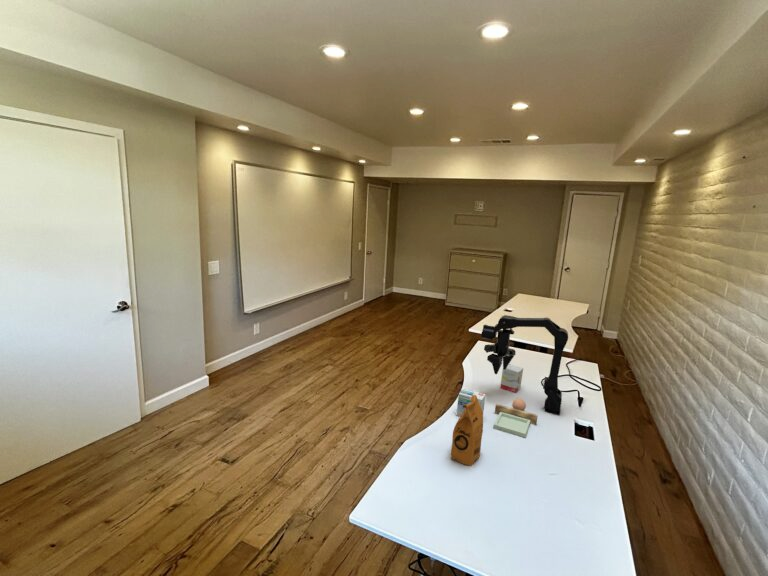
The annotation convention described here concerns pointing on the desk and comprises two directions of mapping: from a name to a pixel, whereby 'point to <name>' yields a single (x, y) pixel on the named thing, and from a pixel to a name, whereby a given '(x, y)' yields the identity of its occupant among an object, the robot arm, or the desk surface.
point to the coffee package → (468, 434)
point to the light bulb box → (468, 400)
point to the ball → (519, 404)
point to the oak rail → (516, 413)
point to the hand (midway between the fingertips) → (500, 371)
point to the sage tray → (512, 424)
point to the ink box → (511, 378)
